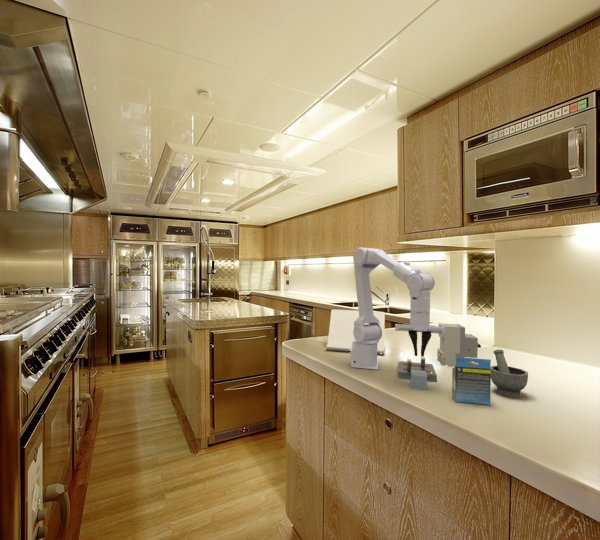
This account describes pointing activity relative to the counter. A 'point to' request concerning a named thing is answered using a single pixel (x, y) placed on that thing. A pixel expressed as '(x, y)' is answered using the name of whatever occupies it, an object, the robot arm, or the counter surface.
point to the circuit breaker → (456, 344)
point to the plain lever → (422, 361)
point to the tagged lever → (408, 364)
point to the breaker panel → (416, 366)
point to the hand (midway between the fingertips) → (419, 355)
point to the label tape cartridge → (471, 381)
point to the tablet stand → (349, 330)
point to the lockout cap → (418, 379)
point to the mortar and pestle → (507, 377)
